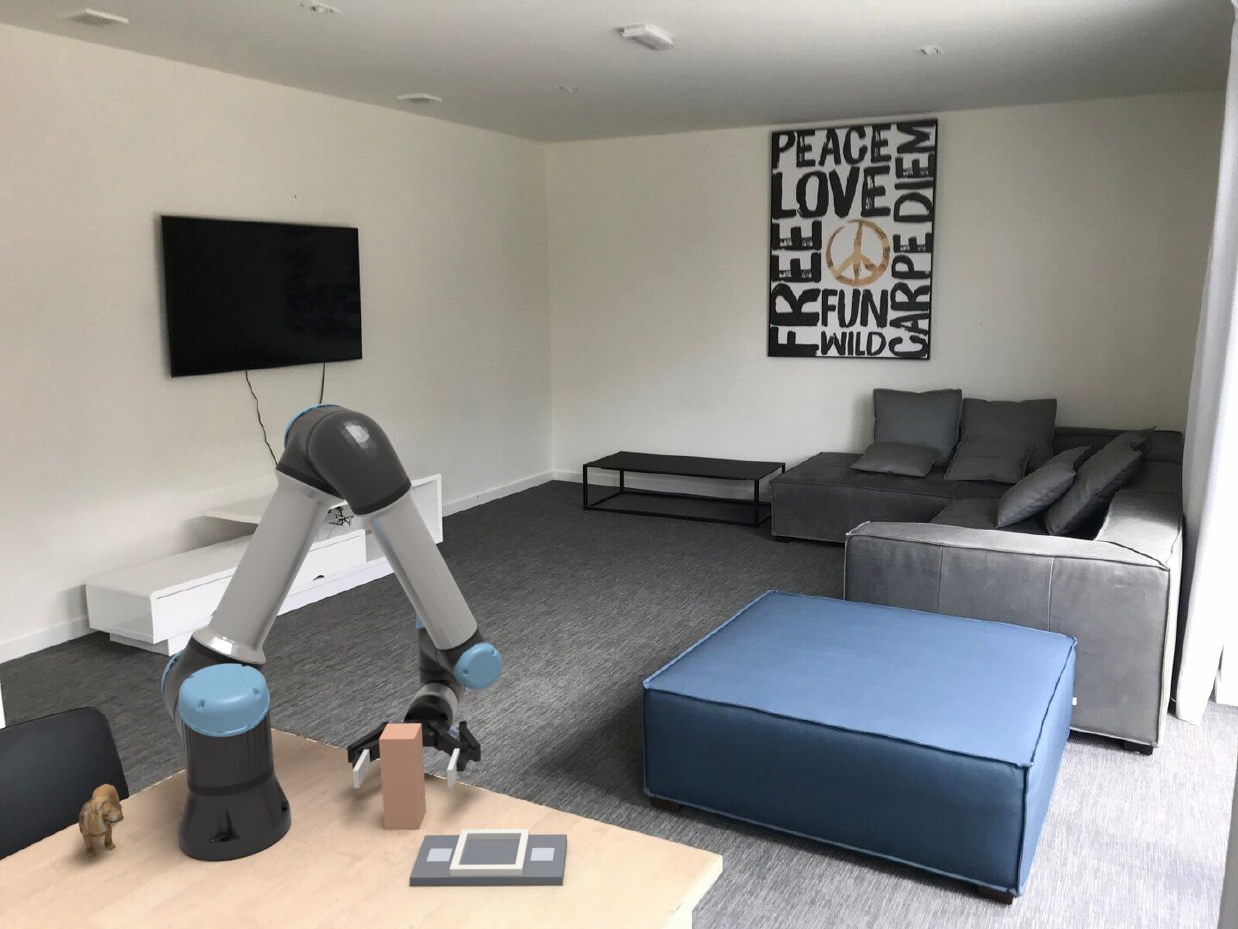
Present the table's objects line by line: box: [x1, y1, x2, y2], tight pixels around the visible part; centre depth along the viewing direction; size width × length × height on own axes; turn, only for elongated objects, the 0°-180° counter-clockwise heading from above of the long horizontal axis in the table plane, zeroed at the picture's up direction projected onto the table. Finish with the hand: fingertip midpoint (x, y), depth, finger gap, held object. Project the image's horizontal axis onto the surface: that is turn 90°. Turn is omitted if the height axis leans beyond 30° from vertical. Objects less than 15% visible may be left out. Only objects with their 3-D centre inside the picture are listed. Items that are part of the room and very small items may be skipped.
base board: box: [409, 828, 568, 887], centre depth 134 cm, size 20×10×2 cm, turn 89°
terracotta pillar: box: [379, 723, 427, 830], centre depth 144 cm, size 5×5×14 cm
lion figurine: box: [78, 783, 125, 857], centre depth 140 cm, size 15×5×9 cm, turn 27°
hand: (402, 779), depth 142 cm, fingers open, 13 cm apart
